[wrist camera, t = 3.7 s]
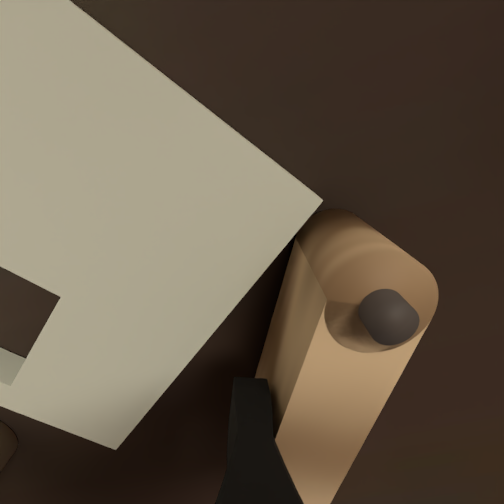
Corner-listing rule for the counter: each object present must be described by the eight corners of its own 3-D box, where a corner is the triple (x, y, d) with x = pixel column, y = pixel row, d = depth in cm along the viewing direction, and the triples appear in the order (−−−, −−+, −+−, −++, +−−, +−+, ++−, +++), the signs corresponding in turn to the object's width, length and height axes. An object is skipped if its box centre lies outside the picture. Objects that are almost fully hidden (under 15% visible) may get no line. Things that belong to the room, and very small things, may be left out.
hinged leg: (304, 200, 9) (358, 258, 5) (375, 215, 10) (481, 282, 5) (237, 431, 14) (236, 567, 9) (288, 436, 14) (310, 571, 10)
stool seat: (126, 423, 13) (115, 450, 12) (-192, 292, 10) (-246, 312, 9) (313, 191, 9) (323, 200, 8) (-107, -139, 6) (-184, -198, 5)
